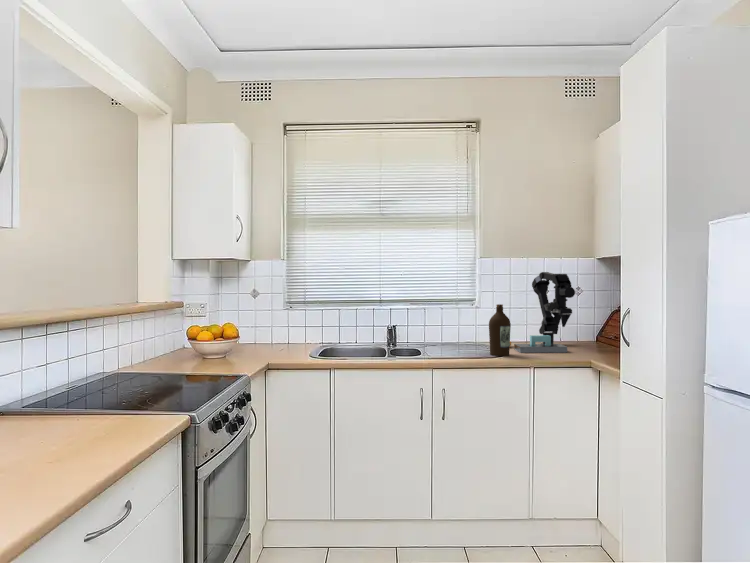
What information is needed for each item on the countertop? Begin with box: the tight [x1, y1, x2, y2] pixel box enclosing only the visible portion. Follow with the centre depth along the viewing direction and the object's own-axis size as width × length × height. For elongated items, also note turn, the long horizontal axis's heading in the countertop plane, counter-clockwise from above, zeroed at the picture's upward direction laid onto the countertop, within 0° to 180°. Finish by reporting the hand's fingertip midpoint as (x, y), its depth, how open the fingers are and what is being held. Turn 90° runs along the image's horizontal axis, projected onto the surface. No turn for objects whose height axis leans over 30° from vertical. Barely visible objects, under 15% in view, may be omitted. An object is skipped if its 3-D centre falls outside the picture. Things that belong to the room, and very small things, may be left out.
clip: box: [529, 334, 551, 346], centre depth 294 cm, size 3×10×8 cm, turn 91°
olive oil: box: [488, 303, 511, 357], centre depth 281 cm, size 11×11×25 cm
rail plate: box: [513, 343, 568, 354], centre depth 294 cm, size 12×24×3 cm, turn 91°
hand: (560, 326), depth 304 cm, fingers open, 9 cm apart
